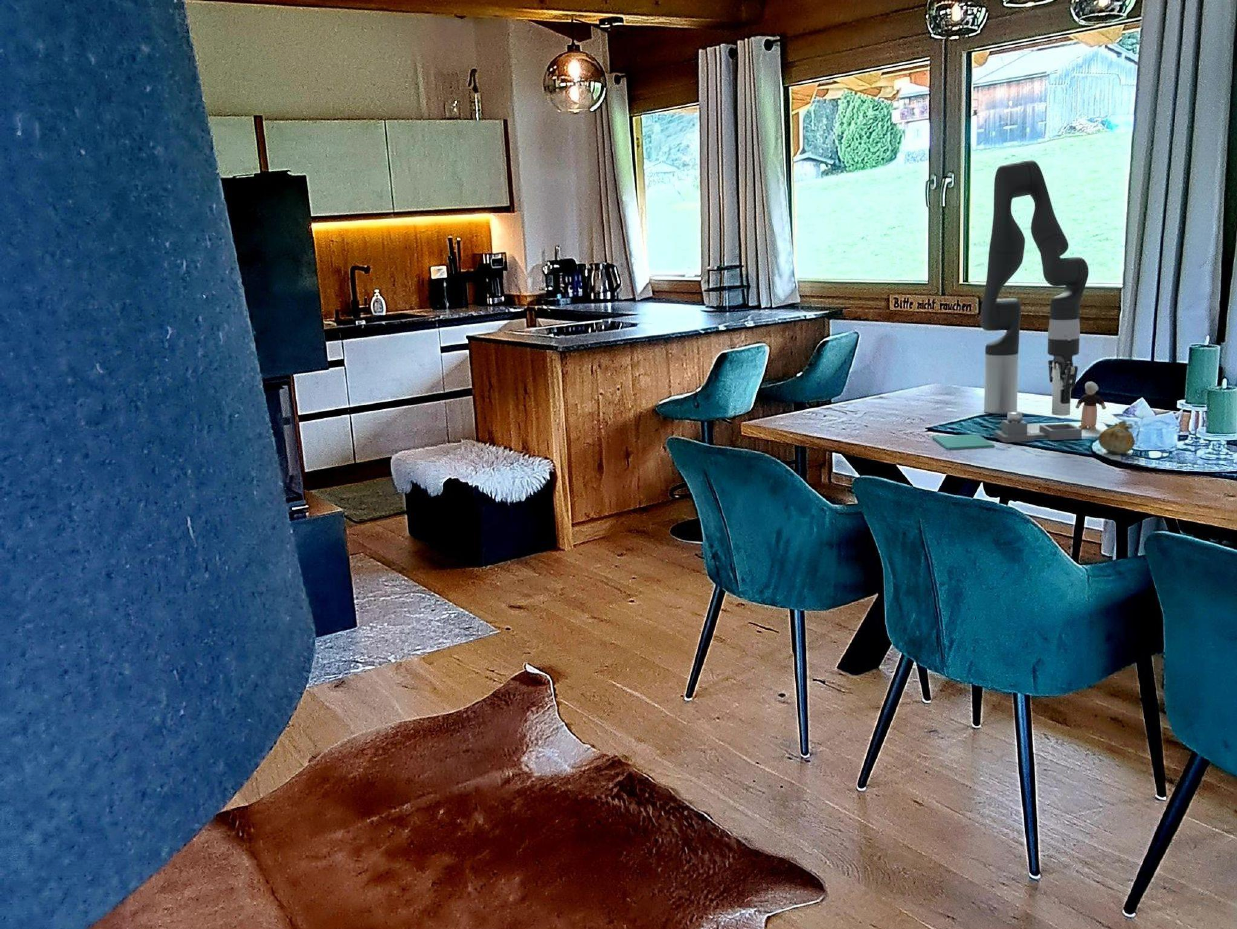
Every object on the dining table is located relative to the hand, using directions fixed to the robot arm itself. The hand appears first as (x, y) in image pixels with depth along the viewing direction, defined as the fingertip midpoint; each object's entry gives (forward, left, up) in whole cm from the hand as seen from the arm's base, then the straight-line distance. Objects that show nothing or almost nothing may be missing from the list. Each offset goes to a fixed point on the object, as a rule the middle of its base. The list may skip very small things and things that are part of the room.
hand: (1061, 401), depth 279 cm
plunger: (0, -12, -7) cm, 14 cm away
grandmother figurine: (-8, +11, -9) cm, 17 cm away
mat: (+2, -26, -9) cm, 28 cm away
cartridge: (0, 0, -3) cm, 3 cm away
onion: (+22, +5, -9) cm, 25 cm away
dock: (0, -5, -9) cm, 10 cm away
